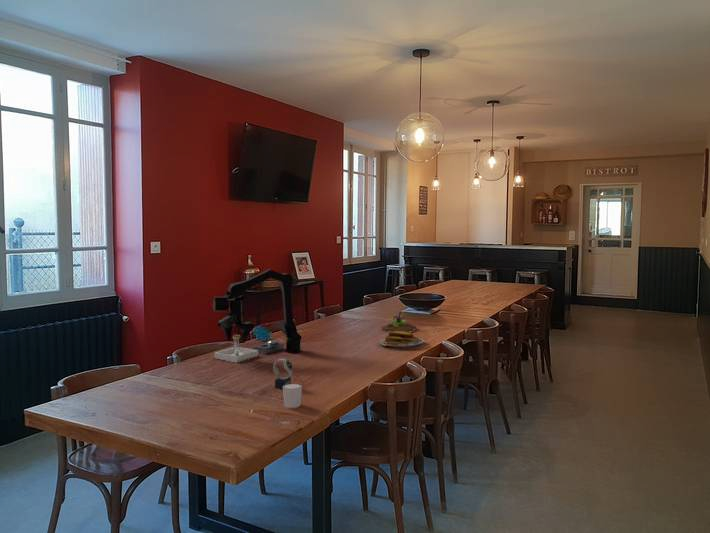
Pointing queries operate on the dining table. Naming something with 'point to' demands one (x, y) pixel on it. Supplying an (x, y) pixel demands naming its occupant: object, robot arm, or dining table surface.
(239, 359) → the tray
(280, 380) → the watch
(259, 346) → the block
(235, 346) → the pin
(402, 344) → the food on plate
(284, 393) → the shot glass
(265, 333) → the gear
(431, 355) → the dining table surface
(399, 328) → the plant
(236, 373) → the dining table surface
